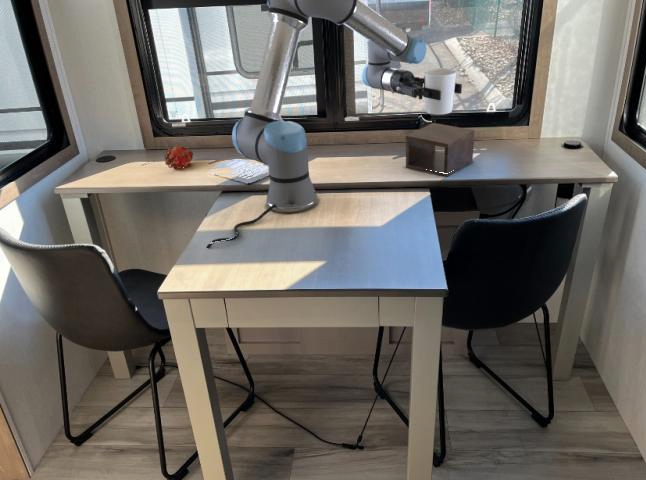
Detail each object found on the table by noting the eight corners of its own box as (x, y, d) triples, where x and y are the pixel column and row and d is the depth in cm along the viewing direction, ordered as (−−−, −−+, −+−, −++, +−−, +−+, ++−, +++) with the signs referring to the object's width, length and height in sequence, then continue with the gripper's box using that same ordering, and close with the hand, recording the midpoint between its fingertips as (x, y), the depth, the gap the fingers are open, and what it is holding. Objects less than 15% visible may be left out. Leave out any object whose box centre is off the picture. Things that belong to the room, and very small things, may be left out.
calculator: (249, 185, 193) (248, 180, 192) (208, 174, 204) (207, 169, 203) (277, 172, 201) (276, 167, 200) (236, 162, 212) (235, 157, 211)
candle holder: (453, 106, 192) (455, 67, 185) (455, 115, 184) (458, 74, 177) (422, 107, 193) (423, 68, 186) (424, 116, 185) (425, 76, 178)
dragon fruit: (165, 176, 208) (192, 171, 217) (175, 166, 202) (204, 160, 211) (154, 154, 208) (183, 149, 216) (165, 143, 202) (193, 139, 210)
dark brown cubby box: (446, 177, 189) (448, 144, 183) (405, 167, 198) (405, 135, 192) (472, 162, 199) (474, 130, 193) (432, 153, 208) (433, 122, 202)
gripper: (421, 86, 204) (472, 97, 189) (375, 100, 194) (425, 112, 178) (422, 63, 200) (474, 72, 185) (374, 76, 189) (426, 86, 174)
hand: (450, 92), depth 182 cm, fingers closed on candle holder, 9 cm apart
